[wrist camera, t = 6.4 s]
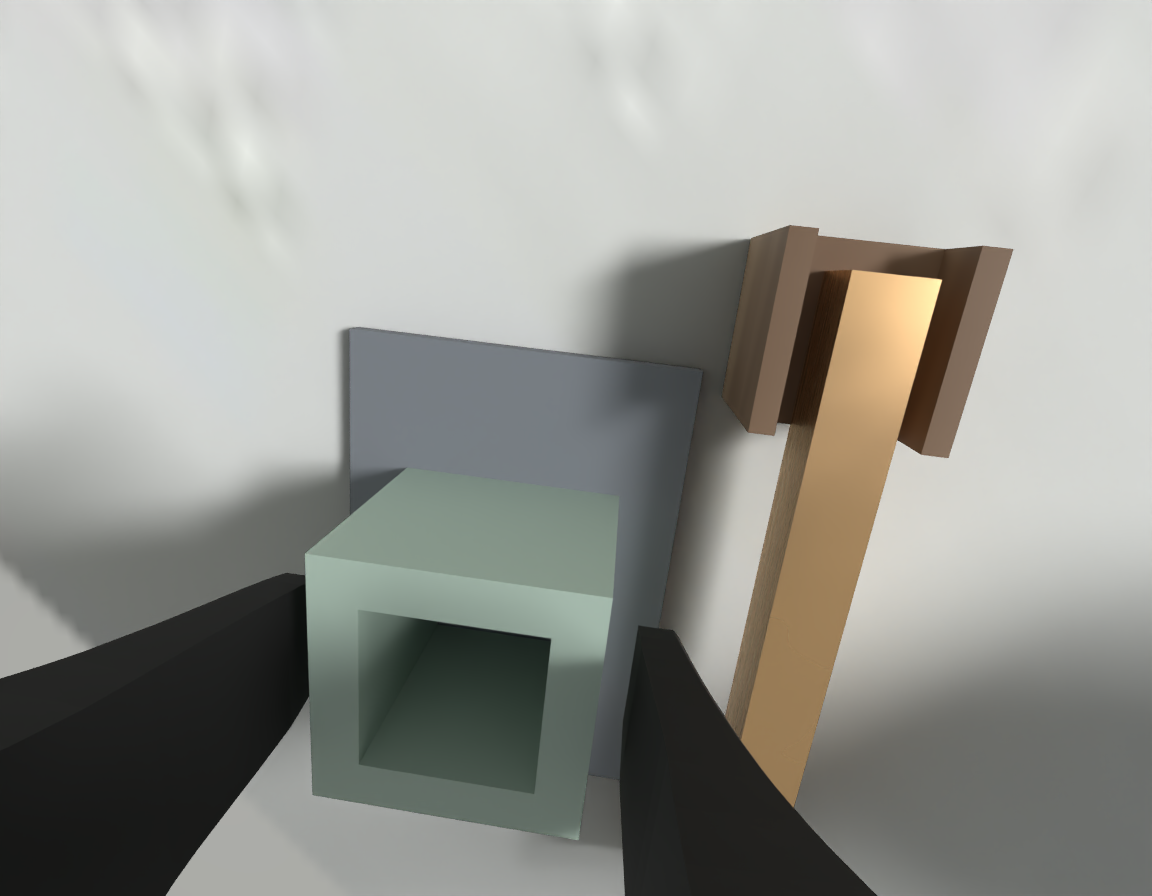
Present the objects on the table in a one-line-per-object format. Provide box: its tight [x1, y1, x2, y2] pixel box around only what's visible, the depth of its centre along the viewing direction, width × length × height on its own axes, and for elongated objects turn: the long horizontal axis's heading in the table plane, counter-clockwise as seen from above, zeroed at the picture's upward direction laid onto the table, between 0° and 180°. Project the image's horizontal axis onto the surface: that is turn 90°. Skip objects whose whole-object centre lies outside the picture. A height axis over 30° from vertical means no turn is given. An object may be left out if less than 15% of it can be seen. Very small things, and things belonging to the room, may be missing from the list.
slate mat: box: [349, 327, 703, 780], centre depth 13 cm, size 7×10×1 cm
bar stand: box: [722, 225, 1013, 458], centre depth 11 cm, size 3×15×3 cm, turn 174°
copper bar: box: [725, 270, 942, 808], centre depth 11 cm, size 1×14×1 cm, turn 174°
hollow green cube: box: [305, 468, 619, 840], centre depth 11 cm, size 4×4×4 cm
